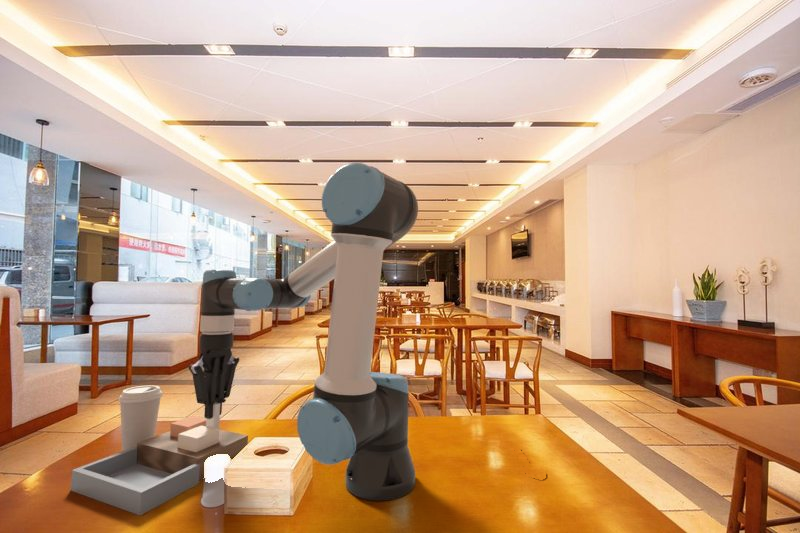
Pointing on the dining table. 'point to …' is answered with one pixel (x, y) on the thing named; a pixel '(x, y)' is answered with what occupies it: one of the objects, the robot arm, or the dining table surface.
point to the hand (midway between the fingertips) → (212, 430)
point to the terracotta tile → (186, 425)
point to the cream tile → (198, 438)
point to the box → (131, 482)
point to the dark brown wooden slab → (185, 452)
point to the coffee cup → (139, 414)
